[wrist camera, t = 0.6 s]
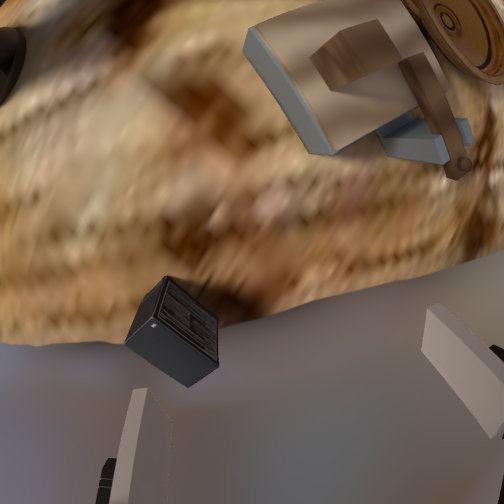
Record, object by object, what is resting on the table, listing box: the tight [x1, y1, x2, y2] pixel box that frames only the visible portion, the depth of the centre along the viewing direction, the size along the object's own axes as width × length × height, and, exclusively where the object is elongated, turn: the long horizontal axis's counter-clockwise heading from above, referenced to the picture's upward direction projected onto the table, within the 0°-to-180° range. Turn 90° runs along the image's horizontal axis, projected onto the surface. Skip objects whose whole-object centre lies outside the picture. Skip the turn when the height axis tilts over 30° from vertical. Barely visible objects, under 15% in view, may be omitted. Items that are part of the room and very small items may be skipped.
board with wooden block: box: [254, 0, 450, 151], centre depth 19 cm, size 15×19×9 cm
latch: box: [398, 52, 472, 180], centre depth 24 cm, size 15×3×3 cm, turn 32°
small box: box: [124, 276, 219, 388], centre depth 36 cm, size 11×6×10 cm, turn 42°
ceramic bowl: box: [404, 0, 504, 85], centre depth 24 cm, size 30×24×8 cm
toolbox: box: [242, 26, 475, 165], centre depth 27 cm, size 22×20×12 cm
